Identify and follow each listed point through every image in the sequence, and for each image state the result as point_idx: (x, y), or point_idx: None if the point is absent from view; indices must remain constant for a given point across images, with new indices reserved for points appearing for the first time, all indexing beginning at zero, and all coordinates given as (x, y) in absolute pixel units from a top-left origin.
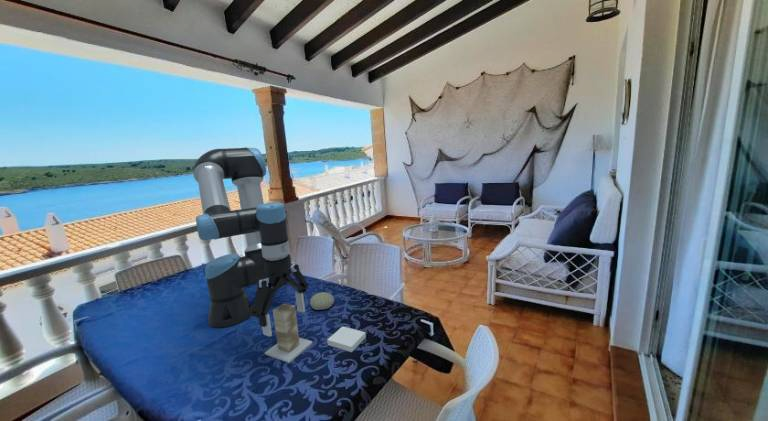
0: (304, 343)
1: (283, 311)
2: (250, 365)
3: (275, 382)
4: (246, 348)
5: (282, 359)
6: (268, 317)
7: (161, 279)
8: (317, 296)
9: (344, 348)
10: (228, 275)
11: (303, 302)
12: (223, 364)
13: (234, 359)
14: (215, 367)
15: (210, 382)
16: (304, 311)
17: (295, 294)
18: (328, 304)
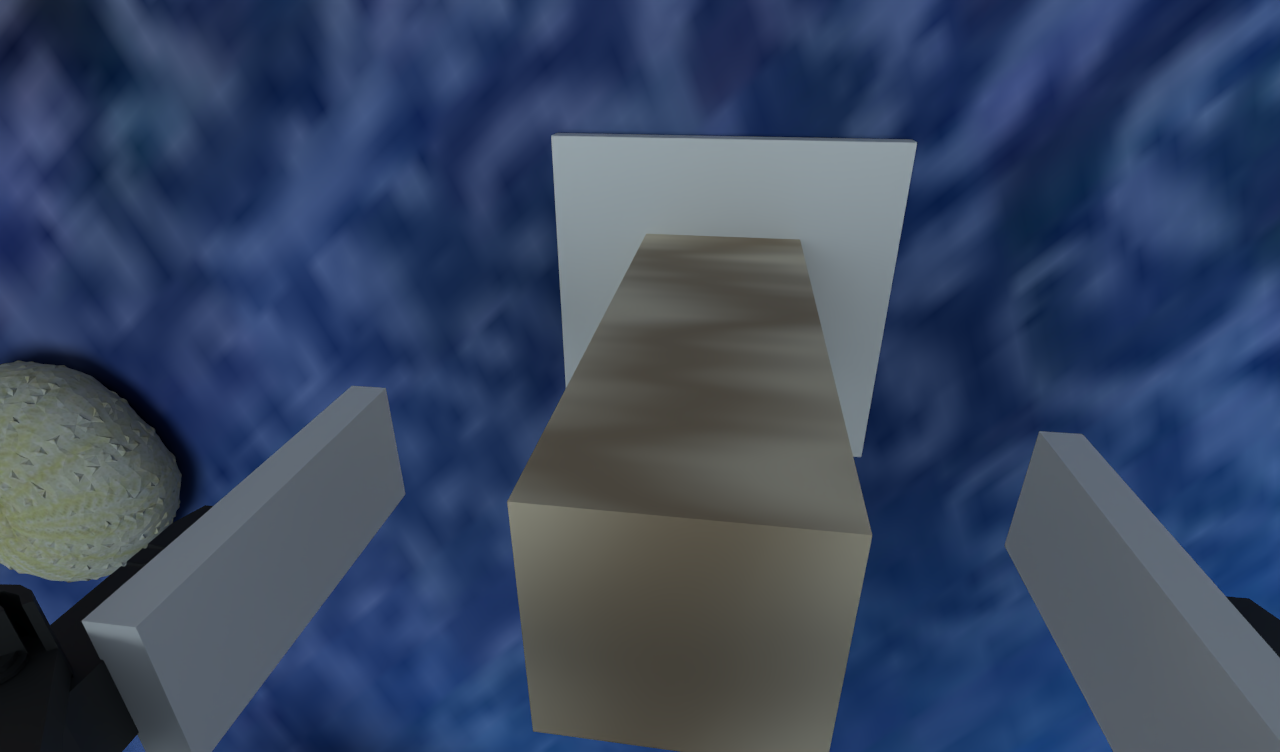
0: (615, 196)
1: (812, 575)
2: (1017, 458)
3: (1224, 54)
4: None
5: (899, 237)
6: (1274, 699)
7: None
8: (33, 533)
9: None
10: None
11: (262, 477)
12: (1044, 639)
13: (973, 611)
14: None
15: (1261, 588)
16: (360, 391)
17: (227, 723)
18: (38, 380)
